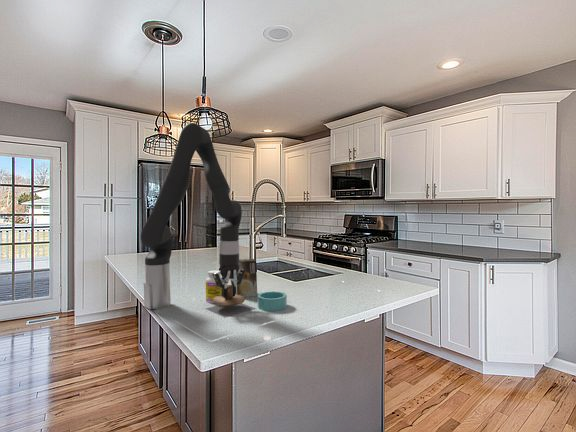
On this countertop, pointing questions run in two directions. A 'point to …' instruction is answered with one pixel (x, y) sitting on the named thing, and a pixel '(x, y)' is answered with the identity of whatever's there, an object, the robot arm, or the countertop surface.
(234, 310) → the mat
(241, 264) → the coffee box
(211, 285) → the supplement bottle
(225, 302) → the lid
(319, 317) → the countertop surface
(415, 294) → the countertop surface
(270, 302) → the bowl
